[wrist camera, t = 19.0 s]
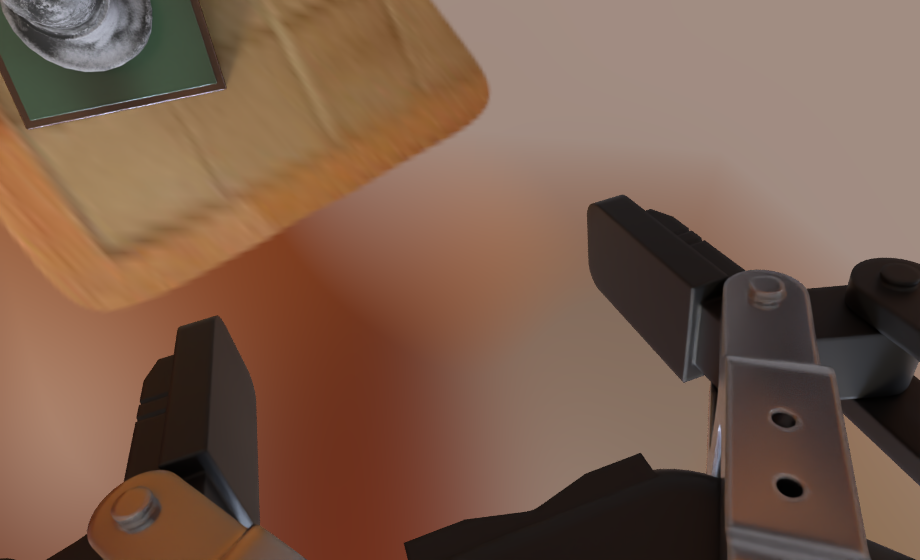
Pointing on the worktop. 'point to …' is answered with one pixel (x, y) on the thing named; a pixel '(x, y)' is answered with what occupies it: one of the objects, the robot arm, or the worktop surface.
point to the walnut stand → (115, 71)
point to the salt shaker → (82, 30)
